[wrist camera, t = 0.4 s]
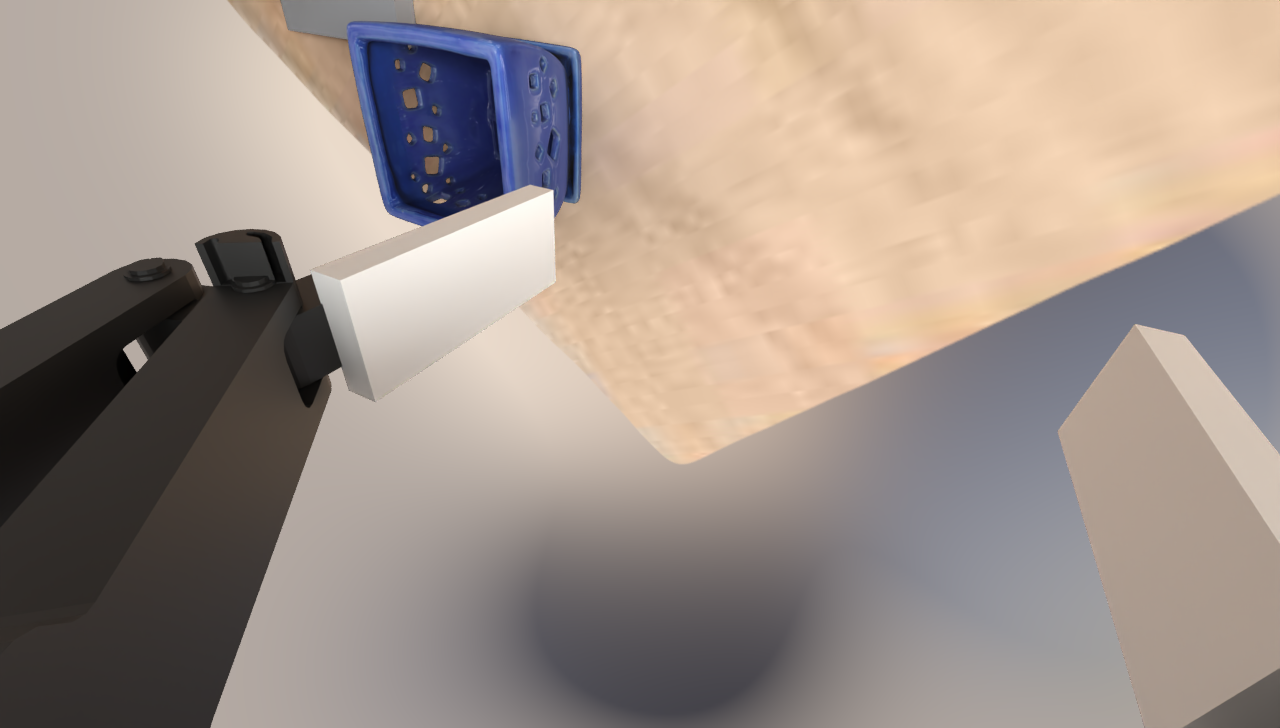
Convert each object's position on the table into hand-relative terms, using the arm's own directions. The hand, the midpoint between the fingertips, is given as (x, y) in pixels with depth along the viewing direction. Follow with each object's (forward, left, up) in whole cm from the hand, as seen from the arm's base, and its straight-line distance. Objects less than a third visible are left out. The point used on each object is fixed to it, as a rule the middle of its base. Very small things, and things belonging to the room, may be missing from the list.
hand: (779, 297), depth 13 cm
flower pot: (+3, -27, -28) cm, 39 cm away
